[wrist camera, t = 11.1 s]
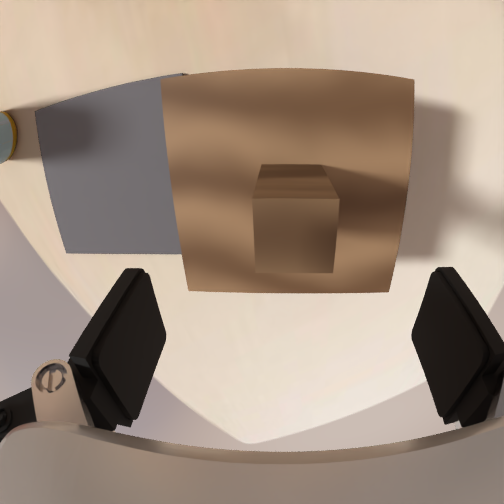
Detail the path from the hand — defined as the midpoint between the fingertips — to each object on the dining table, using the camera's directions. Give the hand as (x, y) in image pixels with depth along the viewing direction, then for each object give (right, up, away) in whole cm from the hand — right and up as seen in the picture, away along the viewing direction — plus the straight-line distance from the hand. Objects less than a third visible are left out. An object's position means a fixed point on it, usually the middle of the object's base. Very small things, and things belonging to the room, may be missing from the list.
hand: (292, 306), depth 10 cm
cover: (+1, +6, +12) cm, 13 cm away
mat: (-17, +10, +20) cm, 28 cm away
